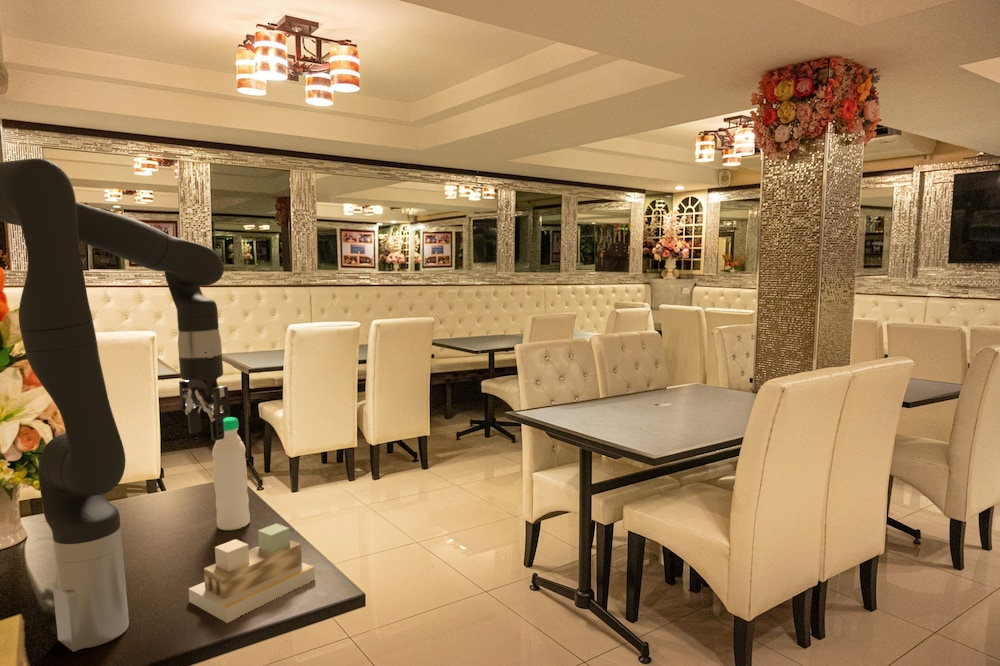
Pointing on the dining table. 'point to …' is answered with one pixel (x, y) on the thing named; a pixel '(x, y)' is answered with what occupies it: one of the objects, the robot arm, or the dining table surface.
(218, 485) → the water bottle
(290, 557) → the pallet
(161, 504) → the dining table surface
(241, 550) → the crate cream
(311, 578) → the dock
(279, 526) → the block
